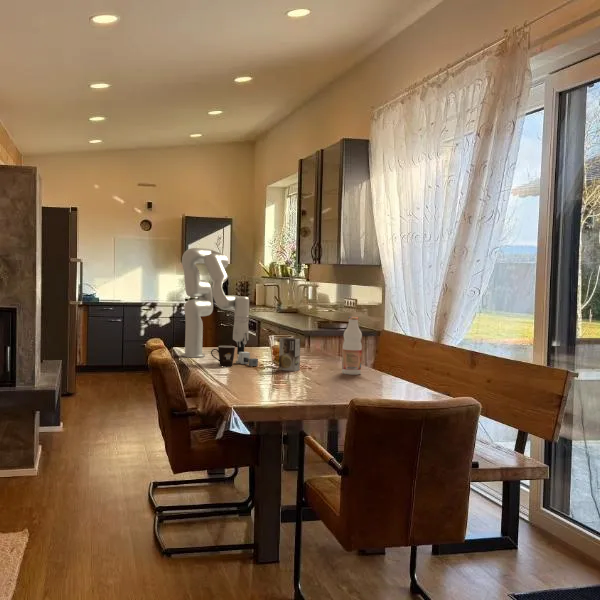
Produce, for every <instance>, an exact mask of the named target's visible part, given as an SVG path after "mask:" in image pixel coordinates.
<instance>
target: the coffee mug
mask: <svg viewBox="0 0 600 600" xmlns="http://www.w3.org/2000/svg"><path fill="white" fill-rule="evenodd" d="M235 350H236V346H234V345H218V349H216V348H213V349H212V350H211V351H210V354H211V356H212V358H214V359H215V360H217V361H218V362H219V367H221V366H223V367H222V368H231V366H232V367H233V365H234V358H235V353H236V352H235ZM213 351H217V353H218V358H217V357H216V356H215V355H213Z"/></svg>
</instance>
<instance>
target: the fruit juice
mask: <svg viewBox="0 0 600 600" xmlns="http://www.w3.org/2000/svg"><path fill="white" fill-rule="evenodd" d="M358 321H359V317H358V316H348V324H347V327H346V329H345V330H344V331H343V340H344V341H343V343H342V356H341V357H342V359H341V360H342V361H341V373H342V374H343V375H348V376H349V375H351V376H356V375H360V374H361V373H362V353H363V352H362V350H363V346H362V345H363V343H362V338H363V333H362V330H361V329H360V327H359V322H358Z"/></svg>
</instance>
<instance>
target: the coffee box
mask: <svg viewBox="0 0 600 600" xmlns="http://www.w3.org/2000/svg"><path fill="white" fill-rule="evenodd" d="M278 341H279V342H278V343H279V345H278V346H279V348H278V349H279V350H278V352H279V353H278V355H279V356H278V370H279V371H287V372H288V371H289V372H297V371H300V368H301V367H300V366H301V365H300V363H301V361H300V360H301V337H299V338H298V337H288V336H287V337H286V336H283V337H280V338H279V340H278Z"/></svg>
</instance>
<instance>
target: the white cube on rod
mask: <svg viewBox="0 0 600 600" xmlns="http://www.w3.org/2000/svg"><path fill="white" fill-rule="evenodd" d="M238 356H239V359H238V363H237V364H241V365H246V364H247V365H249V363H248V362H245V361H244V358H247V359H250V358H251V352H248V351H244V352H239V354H238Z"/></svg>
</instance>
